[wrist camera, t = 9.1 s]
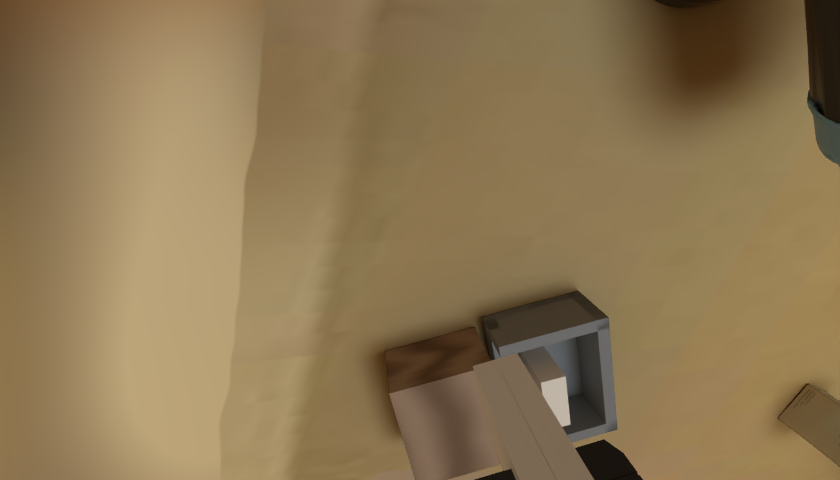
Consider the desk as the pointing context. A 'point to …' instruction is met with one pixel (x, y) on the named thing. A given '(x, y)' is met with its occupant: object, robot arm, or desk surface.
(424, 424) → the brown block
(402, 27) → the desk surface
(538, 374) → the cream tile
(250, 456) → the desk surface
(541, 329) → the box
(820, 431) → the skincare box
